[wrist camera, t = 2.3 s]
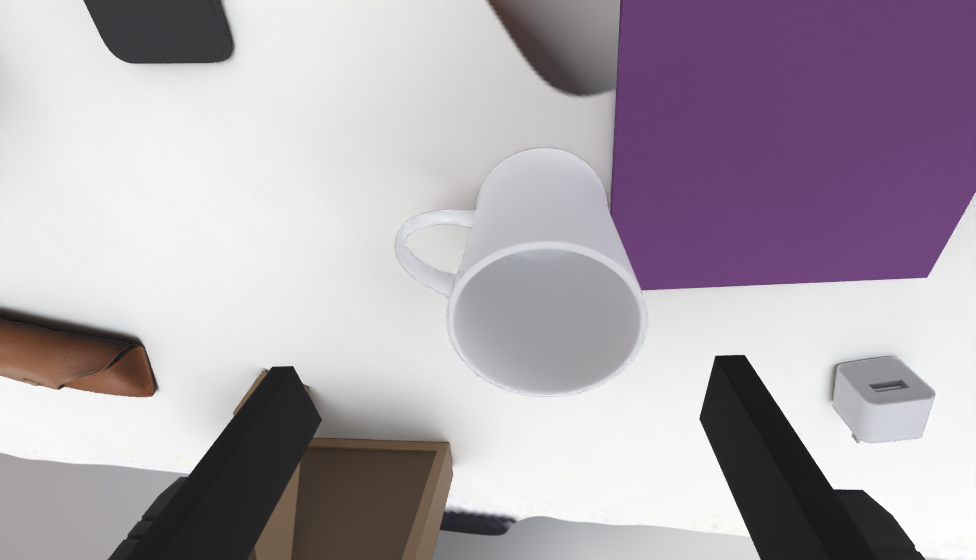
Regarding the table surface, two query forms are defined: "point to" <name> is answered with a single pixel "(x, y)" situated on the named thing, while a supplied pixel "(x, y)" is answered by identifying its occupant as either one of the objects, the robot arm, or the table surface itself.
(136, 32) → the phone
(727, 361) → the robot arm
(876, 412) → the usb wall charger
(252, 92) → the table surface
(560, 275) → the mug
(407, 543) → the photo frame
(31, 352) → the sunglasses case
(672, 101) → the cloth
